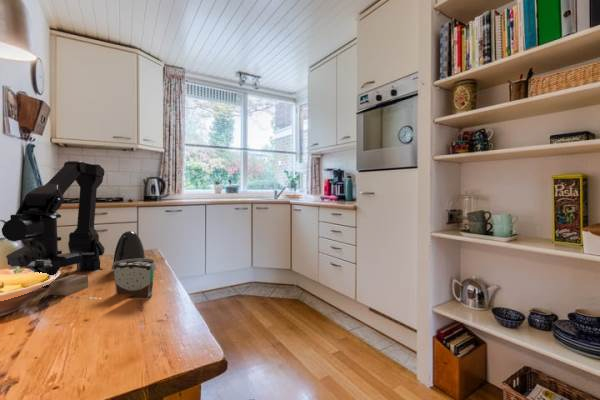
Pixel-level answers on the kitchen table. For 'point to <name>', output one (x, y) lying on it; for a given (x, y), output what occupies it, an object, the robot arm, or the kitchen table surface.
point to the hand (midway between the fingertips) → (46, 288)
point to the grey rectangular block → (68, 284)
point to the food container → (134, 277)
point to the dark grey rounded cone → (129, 247)
